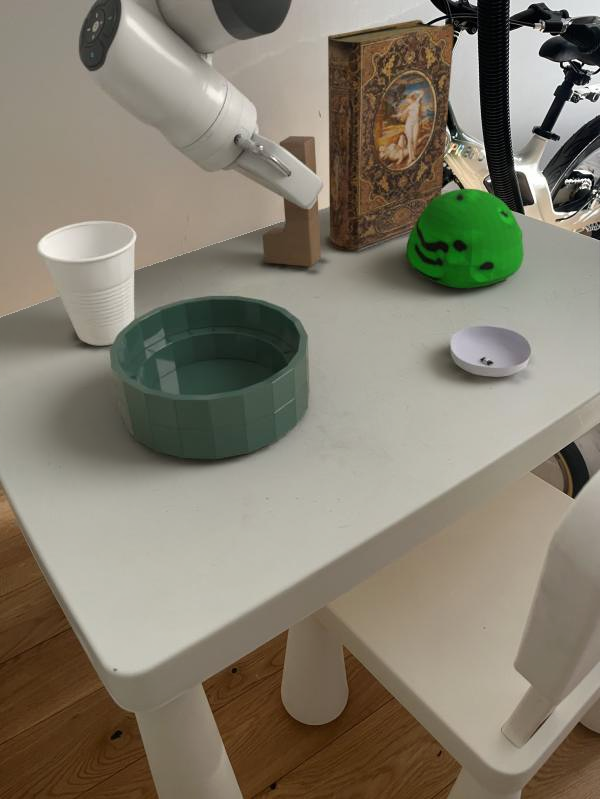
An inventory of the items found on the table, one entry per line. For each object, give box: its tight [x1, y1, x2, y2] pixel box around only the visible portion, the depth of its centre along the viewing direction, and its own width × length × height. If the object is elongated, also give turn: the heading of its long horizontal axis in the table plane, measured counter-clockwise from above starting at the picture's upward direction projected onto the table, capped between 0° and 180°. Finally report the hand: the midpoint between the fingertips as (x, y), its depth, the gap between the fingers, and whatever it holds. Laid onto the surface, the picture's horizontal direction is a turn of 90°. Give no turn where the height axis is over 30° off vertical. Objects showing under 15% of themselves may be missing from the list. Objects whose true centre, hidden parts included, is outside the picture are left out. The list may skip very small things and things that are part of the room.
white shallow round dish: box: [449, 325, 532, 378], centre depth 73 cm, size 8×8×2 cm
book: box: [327, 19, 455, 253], centre depth 94 cm, size 16×6×25 cm, turn 128°
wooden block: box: [262, 135, 322, 267], centre depth 90 cm, size 7×3×15 cm, turn 68°
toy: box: [405, 188, 524, 289], centre depth 88 cm, size 14×13×10 cm
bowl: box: [109, 295, 310, 460], centre depth 67 cm, size 17×17×7 cm
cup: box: [36, 220, 137, 347], centre depth 78 cm, size 10×10×11 cm
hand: (297, 195), depth 89 cm, fingers closed on wooden block, 4 cm apart
